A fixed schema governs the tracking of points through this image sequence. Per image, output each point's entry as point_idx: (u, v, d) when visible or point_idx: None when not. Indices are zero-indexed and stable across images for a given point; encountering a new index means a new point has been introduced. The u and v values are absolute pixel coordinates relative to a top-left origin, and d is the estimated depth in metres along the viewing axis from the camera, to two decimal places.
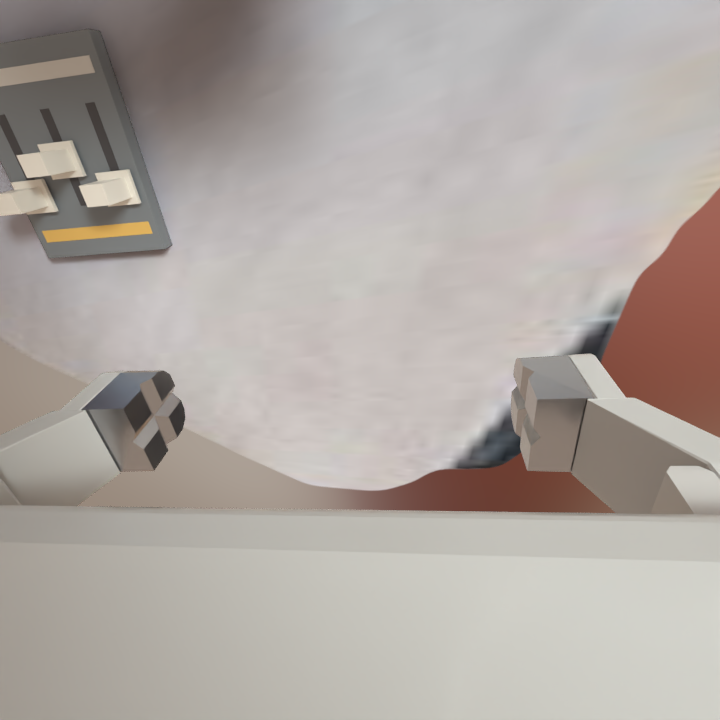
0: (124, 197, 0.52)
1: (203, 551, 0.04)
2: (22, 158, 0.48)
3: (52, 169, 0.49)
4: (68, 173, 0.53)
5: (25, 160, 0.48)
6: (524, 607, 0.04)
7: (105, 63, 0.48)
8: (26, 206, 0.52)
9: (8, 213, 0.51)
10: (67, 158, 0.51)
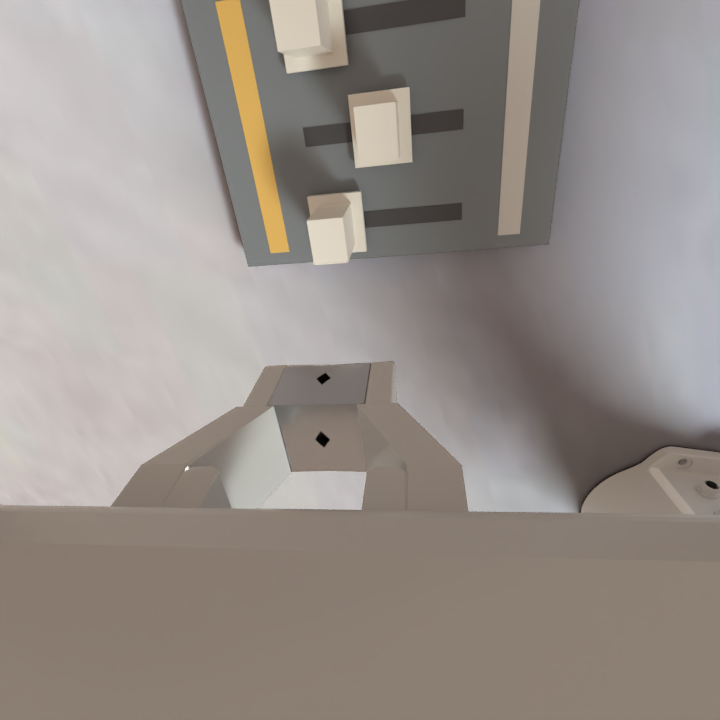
0: None
1: (203, 551, 0.04)
2: (389, 114, 0.24)
3: None
4: None
5: (385, 120, 0.24)
6: (524, 607, 0.04)
7: None
8: (294, 52, 0.24)
9: (274, 10, 0.22)
10: None
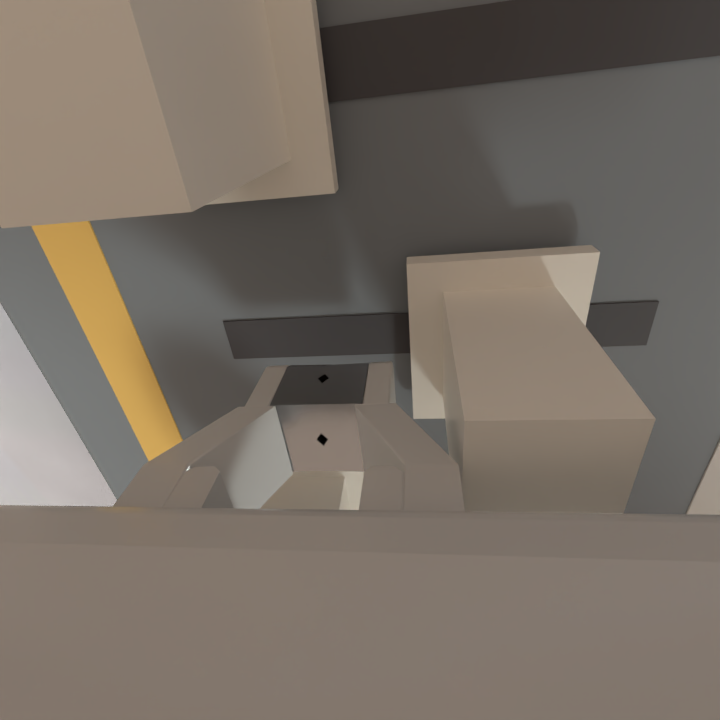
0: None
1: (203, 551, 0.04)
2: (614, 452, 0.06)
3: None
4: (431, 357, 0.10)
5: (593, 465, 0.06)
6: (524, 607, 0.04)
7: None
8: None
9: None
10: None
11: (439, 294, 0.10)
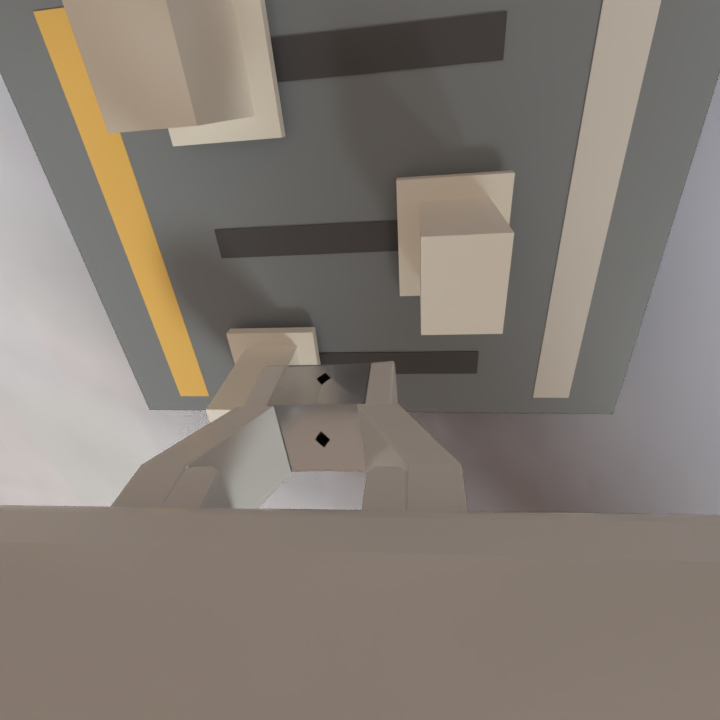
0: None
1: (203, 551, 0.04)
2: (497, 255, 0.11)
3: None
4: (412, 247, 0.16)
5: (487, 264, 0.11)
6: (524, 607, 0.04)
7: None
8: None
9: (87, 49, 0.10)
10: None
11: (416, 201, 0.15)
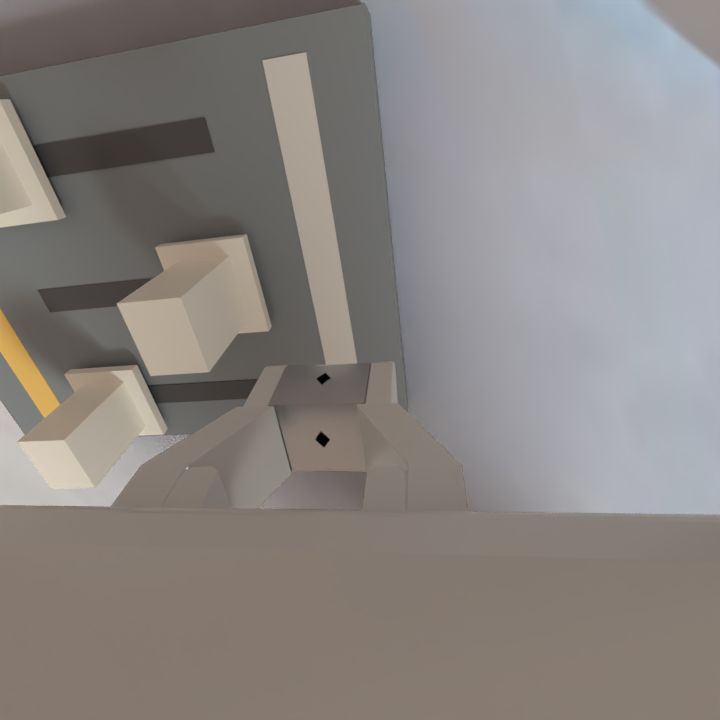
0: None
1: (203, 551, 0.04)
2: (176, 314, 0.14)
3: None
4: None
5: (173, 321, 0.15)
6: (524, 607, 0.04)
7: None
8: None
9: None
10: None
11: (176, 263, 0.18)
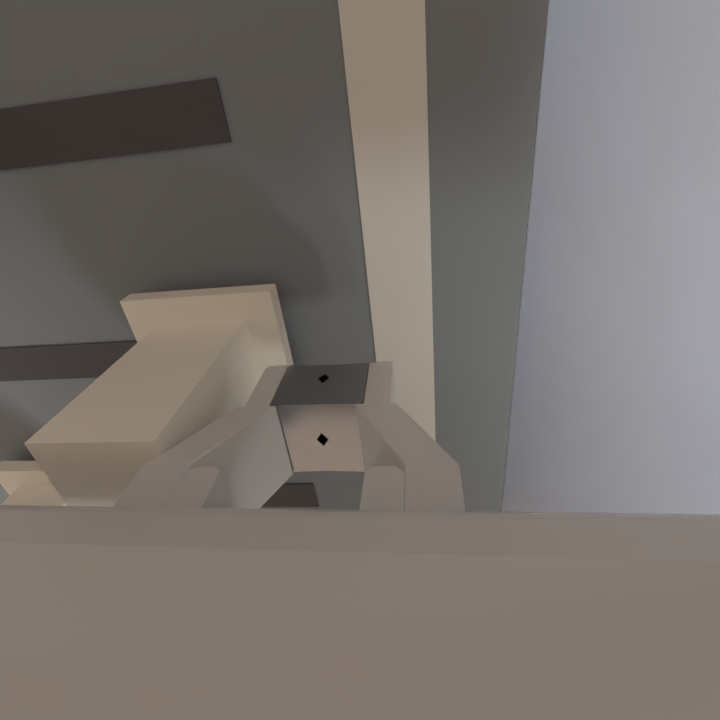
0: None
1: (203, 551, 0.04)
2: None
3: None
4: None
5: None
6: (524, 607, 0.04)
7: None
8: None
9: None
10: None
11: (156, 326, 0.11)
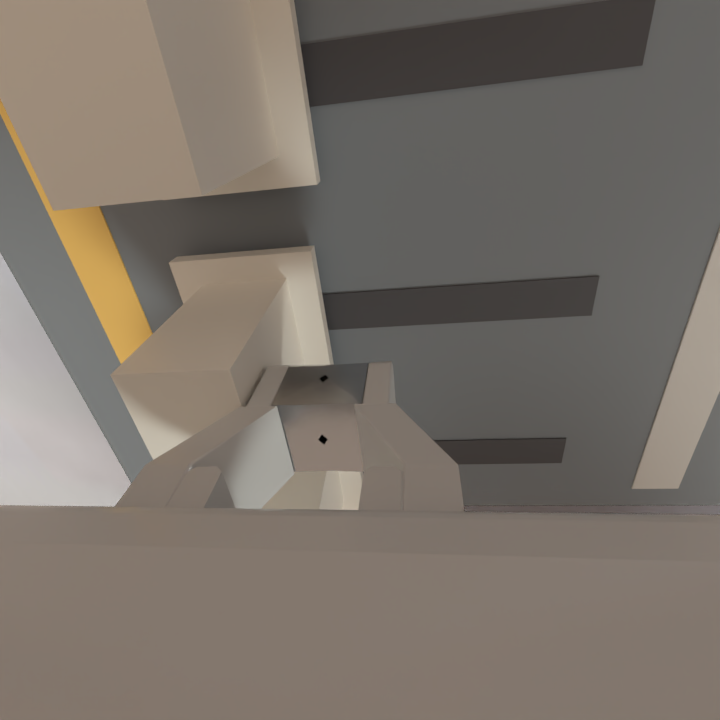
0: None
1: (203, 551, 0.04)
2: (219, 396, 0.08)
3: None
4: None
5: (212, 406, 0.08)
6: (524, 607, 0.04)
7: None
8: None
9: (2, 73, 0.05)
10: None
11: (202, 286, 0.12)
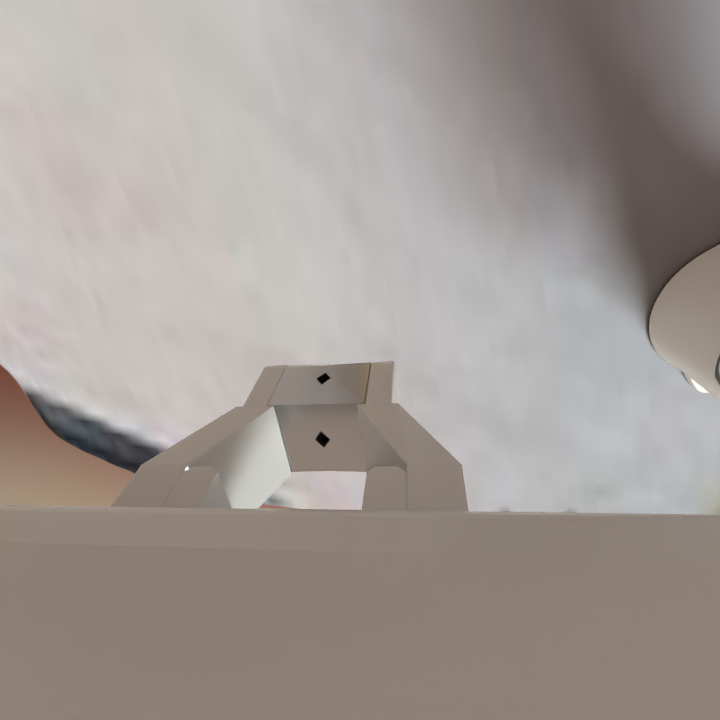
0: None
1: (203, 551, 0.04)
2: None
3: None
4: None
5: None
6: (524, 607, 0.04)
7: None
8: None
9: None
10: None
11: None
